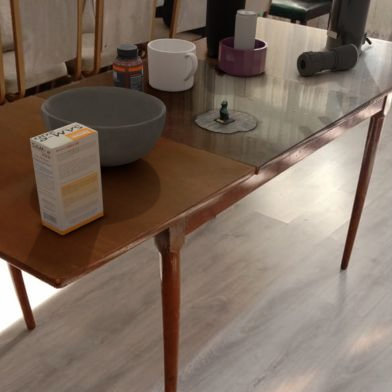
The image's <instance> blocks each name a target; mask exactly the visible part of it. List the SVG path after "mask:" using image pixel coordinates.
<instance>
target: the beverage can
mask: <svg viewBox="0 0 392 392" xmlns="http://www.w3.org/2000/svg"><path fill="white" fill-rule="evenodd" d="M257 14H258V12H257V11H256V10H253V9H245V10H238V11H237V14H236V24H235V40H234V48H236V49H244V50H253V49H254V46H255V38H256V35H257V23H258V15H257Z"/></svg>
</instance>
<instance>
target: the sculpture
mask: <svg viewBox="0 0 392 392" xmlns="http://www.w3.org/2000/svg"><path fill="white" fill-rule="evenodd" d="M228 105H229V103H228V100H223V101H221V103H220V106H221V107H220V108H219V109H214V110H213V109H211V110H208V111H207V112H204V113H201V114H199V115H197V116H196V118H195V120H194V122H195V124H197V126H199V127H201V128H203V129H207V130H208V131H211V132H215V133H223V134H233V133H236V132H248V131H251V130H253V129H255V128H256V126H257V123H258V120H257V119H256V118H255V117H253V116H251V115H250V114H247V113H245V112H240V111H236V110H231V109H228Z"/></svg>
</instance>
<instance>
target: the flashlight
mask: <svg viewBox="0 0 392 392" xmlns="http://www.w3.org/2000/svg"><path fill="white" fill-rule="evenodd" d="M359 60H360V55H359V52H358V49H357V47H356V46H355V45H353V44H349V45H343V46H339V47H337V48H331V49H330V50H329V51H325V50H324V51H321V50H318V51H313V50H309V51H304V52H302V53H301V54H299V55H298V57H297V58H296V70H297V72H298V73H299V75H301V76H305V77H308V76H314V75H316V74H318V73H322V72H324V71H332V72H334V71H347V70H351V69H354V68H355V67H357V65H358V63H359Z"/></svg>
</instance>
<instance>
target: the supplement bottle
mask: <svg viewBox="0 0 392 392" xmlns="http://www.w3.org/2000/svg"><path fill="white" fill-rule="evenodd" d="M116 54H117V55H116V56H115V57H114V58H113V60H112V76H113V87H120V88H127V89H131V90H136V91H139V92H143V93H144V63H143V60H142V58H141V57H140V56H139V55H138V54H139V51H138V46H137V45H135V44H132V43H123V44H119V45H117V46H116Z"/></svg>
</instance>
